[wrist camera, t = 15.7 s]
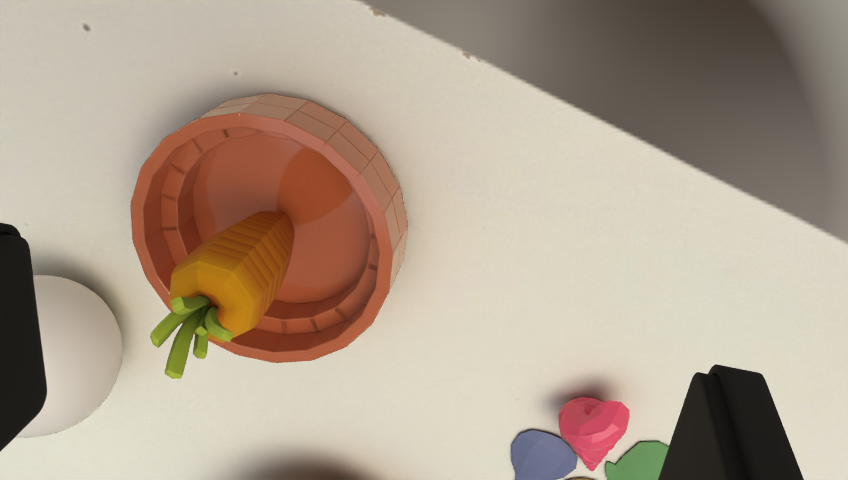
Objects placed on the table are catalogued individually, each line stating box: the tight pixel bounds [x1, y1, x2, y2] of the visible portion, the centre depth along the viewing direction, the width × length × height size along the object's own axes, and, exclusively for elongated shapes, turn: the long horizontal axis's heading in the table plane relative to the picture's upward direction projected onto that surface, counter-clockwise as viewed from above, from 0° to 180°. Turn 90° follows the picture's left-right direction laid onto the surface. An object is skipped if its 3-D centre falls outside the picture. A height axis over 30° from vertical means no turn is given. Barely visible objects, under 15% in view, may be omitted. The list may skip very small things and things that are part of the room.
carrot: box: [150, 211, 295, 379], centre depth 40 cm, size 5×5×15 cm
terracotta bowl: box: [131, 94, 408, 363], centre depth 45 cm, size 16×16×5 cm
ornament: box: [16, 275, 122, 438], centre depth 49 cm, size 10×10×12 cm
